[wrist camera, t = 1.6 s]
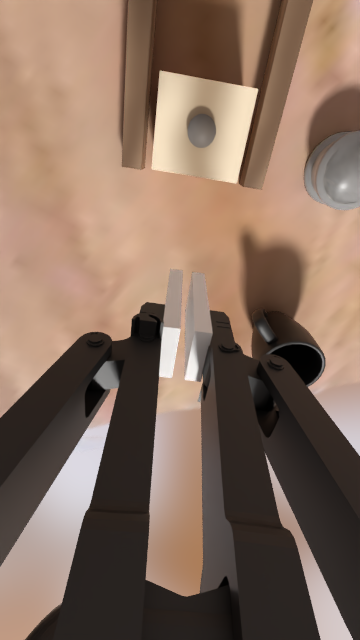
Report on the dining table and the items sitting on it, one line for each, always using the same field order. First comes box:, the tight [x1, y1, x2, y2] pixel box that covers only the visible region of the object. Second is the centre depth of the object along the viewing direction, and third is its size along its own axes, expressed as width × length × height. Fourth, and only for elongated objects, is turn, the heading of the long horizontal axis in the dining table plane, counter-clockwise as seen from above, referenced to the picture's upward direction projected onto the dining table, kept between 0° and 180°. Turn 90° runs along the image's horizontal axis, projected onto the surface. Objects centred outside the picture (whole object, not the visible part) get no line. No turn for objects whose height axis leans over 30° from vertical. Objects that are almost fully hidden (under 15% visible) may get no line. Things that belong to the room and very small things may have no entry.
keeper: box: [151, 71, 258, 184], centre depth 27 cm, size 8×7×8 cm
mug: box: [251, 308, 325, 387], centre depth 38 cm, size 8×12×10 cm
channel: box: [122, 0, 313, 190], centre depth 25 cm, size 15×24×5 cm, turn 172°
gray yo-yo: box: [304, 130, 360, 210], centre depth 31 cm, size 7×7×4 cm
